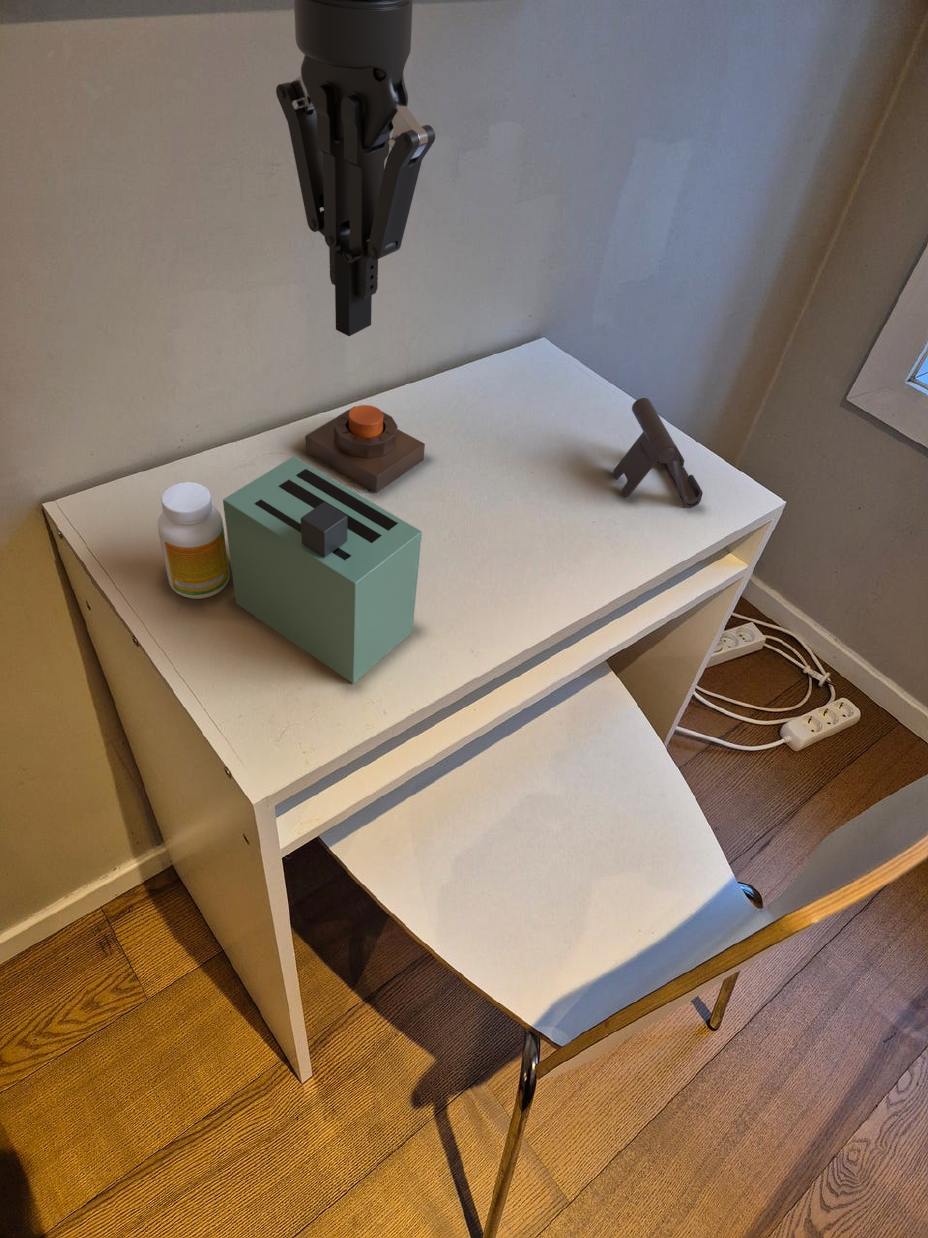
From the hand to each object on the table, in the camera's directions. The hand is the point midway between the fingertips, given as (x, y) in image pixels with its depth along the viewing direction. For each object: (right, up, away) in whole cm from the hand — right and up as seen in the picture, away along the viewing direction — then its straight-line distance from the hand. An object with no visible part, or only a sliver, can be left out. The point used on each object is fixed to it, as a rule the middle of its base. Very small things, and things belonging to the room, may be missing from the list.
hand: (353, 326), depth 71 cm
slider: (-2, -18, -5) cm, 19 cm away
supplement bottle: (-15, -21, +7) cm, 27 cm away
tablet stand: (+30, -9, +24) cm, 40 cm away
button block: (-2, -7, +22) cm, 23 cm away
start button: (-1, -4, +20) cm, 20 cm away
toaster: (-3, -24, +6) cm, 25 cm away
